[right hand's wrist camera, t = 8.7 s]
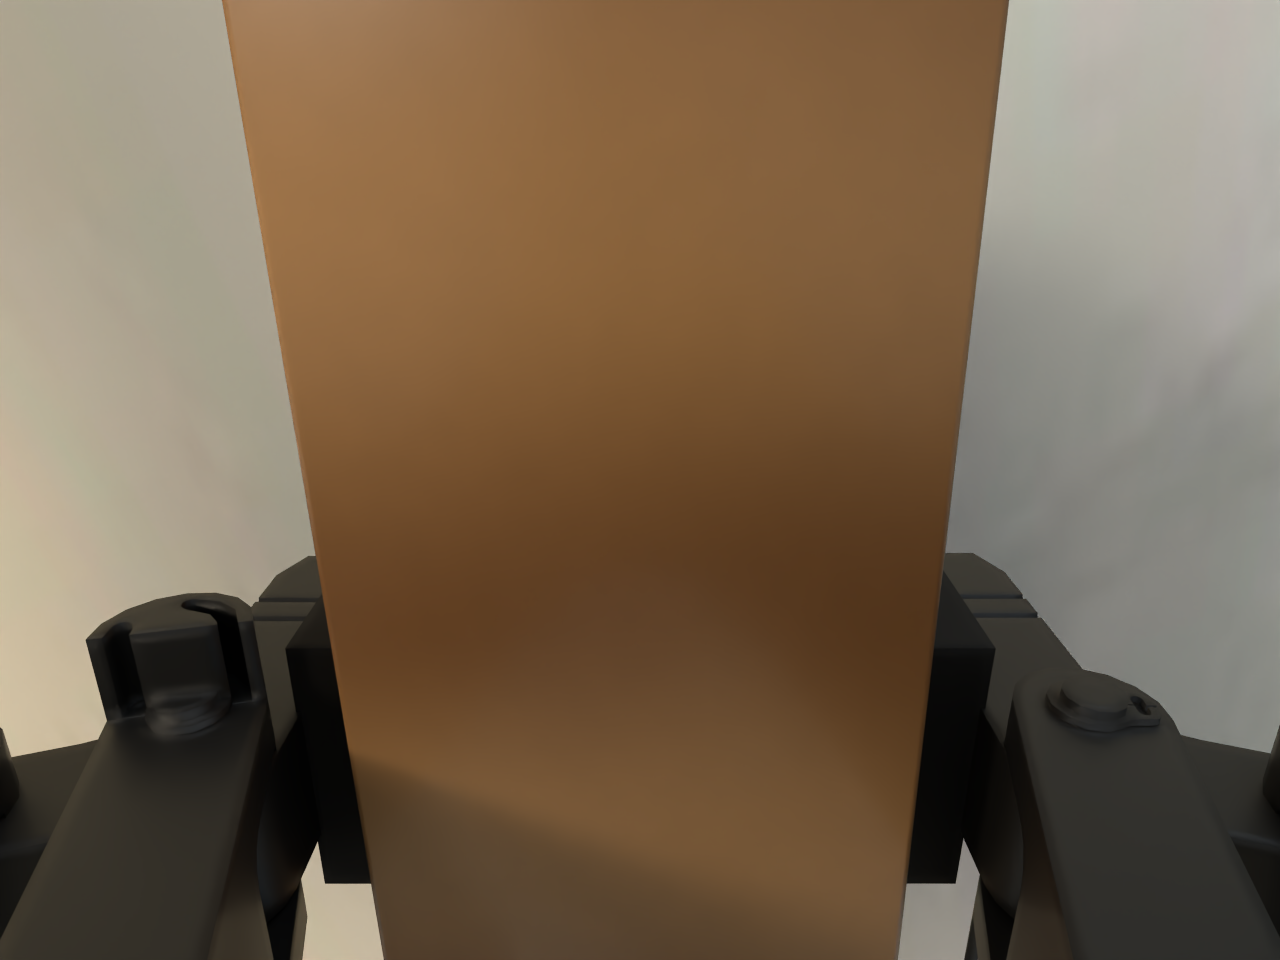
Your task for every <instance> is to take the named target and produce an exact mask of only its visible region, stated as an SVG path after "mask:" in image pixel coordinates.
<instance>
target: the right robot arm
mask: <svg viewBox="0 0 1280 960" xmlns="http://www.w3.org/2000/svg"><path fill="white" fill-rule="evenodd" d="M86 643H87V647H88V651H89V654H90V658H91V662H92V666H93V669H94V673H95V677H96V681H97V685H98V688H99V692H100V696H101V700H102V703H103V707H104V711H105V715H106V718H107V722H106V725H105V727H104V729H103V731H102V733H101V735H100V737H99V739H98V740H94V741H91V742H87V743H83V744H78V745H73V746H68V747H63V748H57V749H52V750H47V751H42V752H37V753H32V754H26V755H21V756H16V757H11V755H10V752H9V748H8V745H7V742H6V739H5V736H4V733H3V730H2V729H1V728H0V960H302V957H303V949H304V940H305V932H306V924H307V912H306V905H305V898H304V893H303V888H302V882H301V878H302V875H303V873H304V871H305V869H306V866H307V864H308V862H309V860H310V857H311V855H312V853H313V851H314V848H315V846H316V844H317V842H318V844H319V850H320V856H321V862H322V868H323V874H324V880H325V884H371V880H370V874H369V868H368V862H367V856H366V850H365V844H364V838H363V832H362V826H361V820H360V814H359V809H358V803H357V797H356V791H355V785H354V779H353V773H352V767H351V761H350V755H349V749H348V743H347V737H346V731H345V726H344V720H343V714H342V708H341V702H340V696H339V690H338V684H337V678H336V672H335V666H334V660H333V654H332V648H331V643H330V637H329V631H328V625H327V619H326V613H325V607H324V601H323V595H322V589H321V583H320V577H319V571H318V566H317V560H316V556H308V557H306V558H304V559H303V560H301V561H300V562H298V563H296V564H295V565H293V566H291V567H290V568H288V569H286V570H285V571H283V572H281V573H280V574H278V575H277V576H276V577H275V578H274V579H273V581H272V582H271V583H270V584H269V586H268V587H267V588H266V589H265V591H264V592H263V593H262V594H261V596H260V597H259V602H255V603H254V604H253V606H252V607H250V606H249V605H248V604H246V603H245V602H243V601H242V600H241V599H239V598H238V597H233V596H228V595H223V594H219V593H187V594H182V595H177V596H171V597H166V598H161V599H156V600H153V601H150V602H147V603H144V604H141V605H139V606H136V607H133V608H130V609H127V610H125V611H123V612H121V613H120V614H118V615H116V616H114V617H113V618H111V619H109V620H107V621H106V622H104V623H102V624H101V625H100V626H99V627H98V628H97V629H96V630H95V631H94V632H93V633H92V634H91V635H90V636H89V637H88V638H87V639H86ZM963 838H964V840H965V842H966V844H967V847H968V849H969V851H970V853H971V855H972V858H973V860H974V862H975V864H976V867H977V869H978V871H979V873H980V877H979V882H978V888H977V893H976V898H975V904H974V909H973V915H972V920H971V926H970V931H969V937H968V942H967V948H966V953H965V959H964V960H1280V726H1279V729H1278V733H1277V736H1276V739H1275V742H1274V745H1273V748H1272V751H1271V754H1270V753H1265V752H1260V751H1255V750H1249V749H1244V748H1239V747H1234V746H1229V745H1223V744H1218V743H1213V742H1208V741H1203V740H1198V739H1194V738H1190V737H1187V736H1183V735H1180V733H1179V731H1178V729H1177V727H1176V725H1175V723H1174V721H1173V719H1172V718H1171V717H1170V716H1169V714H1168V713H1167V712H1166V711H1165V710H1164V708H1163V707H1162V706H1161V705H1160V703H1159V702H1157V701H1156V700H1154V699H1153V698H1151V697H1150V696H1148V695H1147V694H1145V693H1144V692H1142V691H1141V690H1139V689H1138V688H1136V687H1135V686H1132V685H1130V684H1128V683H1125V682H1123V681H1120V680H1118V679H1115V678H1113V677H1110V676H1108V675H1105V674H1100V673H1096V672H1091V671H1086V670H1083V669H1082V668H1081V667H1080V665H1079V664H1078V663H1077V662H1076V660H1075V659H1074V658H1073V657H1072V656H1071V654H1070V653H1069V652H1068V651H1067V649H1066V648H1065V647H1064V646H1063V644H1062V643H1061V642H1060V641H1059V639H1058V638H1057V637H1056V636H1055V634H1054V633H1053V632H1052V631H1051V629H1050V628H1049V627H1048V626H1047V624H1046V623H1045V622H1044V621H1043V619H1042V618H1038V617H1037V612H1036V611H1035V609H1034V608H1033V607H1032V606H1031V604H1030V603H1029V602H1028V601H1027V600H1026V599H1023V597H1022V593H1021V592H1020V591H1019V590H1018V588H1017V587H1016V586H1015V585H1014V583H1013V582H1012V581H1011V580H1010V578H1009V577H1008V576H1007V575H1006V573H1005V572H1003V571H1002V570H1000V569H998V568H997V567H995V566H993V565H992V564H990V563H988V562H987V561H985V560H983V559H982V558H980V557H978V556H977V555H975V554H973V553H945V557H944V565H943V574H942V582H941V591H940V600H939V608H938V617H937V626H936V634H935V643H934V651H933V660H932V669H931V677H930V686H929V694H928V703H927V712H926V720H925V729H924V737H923V746H922V755H921V763H920V772H919V781H918V789H917V798H916V806H915V815H914V824H913V832H912V841H911V849H910V858H909V867H908V875H907V883H942V884H956V878H957V872H958V866H959V860H960V855H961V849H962V843H963Z"/></svg>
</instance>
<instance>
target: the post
mask: <svg viewBox="0 0 1280 960" xmlns="http://www.w3.org/2000/svg"><path fill="white" fill-rule="evenodd" d="M222 2H223V8H224V14H225V20H226V26H227V32H228V38H229V44H230V50H231V56H232V62H233V68H234V74H235V80H236V85H237V91H238V97H239V103H240V109H241V115H242V121H243V127H244V133H245V139H246V145H247V151H248V157H249V162H250V168H251V174H252V180H253V186H254V192H255V198H256V204H257V210H258V216H259V222H260V228H261V234H262V240H263V245H264V251H265V257H266V263H267V269H268V275H269V281H270V287H271V293H272V299H273V305H274V311H275V317H276V323H277V328H278V334H279V340H280V346H281V352H282V358H283V364H284V370H285V376H286V382H287V388H288V394H289V400H290V405H291V411H292V417H293V423H294V429H295V435H296V441H297V447H298V453H299V459H300V465H301V471H302V477H303V483H304V488H305V494H306V500H307V506H308V512H309V518H310V524H311V530H312V536H313V542H314V548H315V554H316V560H317V566H318V571H319V577H320V583H321V589H322V595H323V601H324V607H325V613H326V619H327V625H328V631H329V637H330V643H331V648H332V654H333V660H334V666H335V672H336V678H337V684H338V690H339V696H340V702H341V708H342V714H343V720H344V726H345V731H346V737H347V743H348V749H349V755H350V761H351V767H352V773H353V779H354V785H355V791H356V797H357V803H358V809H359V814H360V820H361V826H362V832H363V838H364V844H365V850H366V856H367V862H368V868H369V874H370V880H371V886H372V891H373V897H374V903H375V909H376V915H377V921H378V927H379V933H380V939H381V945H382V951H383V957H384V960H898V953H899V944H900V936H901V927H902V918H903V910H904V901H905V892H906V884H907V875H908V867H909V858H910V849H911V841H912V832H913V824H914V815H915V806H916V798H917V789H918V781H919V772H920V763H921V755H922V746H923V737H924V729H925V720H926V712H927V703H928V694H929V686H930V677H931V669H932V660H933V651H934V643H935V634H936V626H937V617H938V608H939V600H940V591H941V582H942V574H943V565H944V557H945V548H946V539H947V531H948V522H949V514H950V505H951V496H952V488H953V479H954V471H955V462H956V453H957V445H958V436H959V427H960V419H961V410H962V402H963V393H964V384H965V376H966V367H967V359H968V350H969V341H970V333H971V324H972V316H973V307H974V298H975V290H976V281H977V273H978V264H979V255H980V247H981V238H982V229H983V221H984V212H985V204H986V195H987V186H988V178H989V169H990V161H991V152H992V143H993V135H994V126H995V118H996V109H997V100H998V92H999V83H1000V74H1001V66H1002V57H1003V49H1004V40H1005V31H1006V23H1007V14H1008V6H1009V0H222Z"/></svg>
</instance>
